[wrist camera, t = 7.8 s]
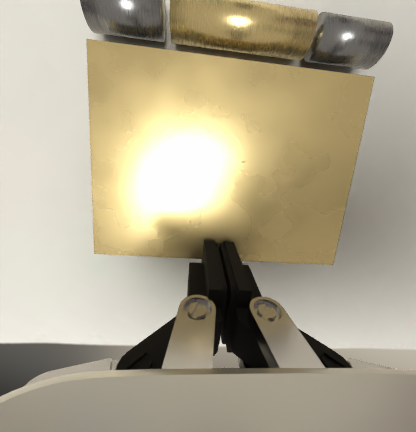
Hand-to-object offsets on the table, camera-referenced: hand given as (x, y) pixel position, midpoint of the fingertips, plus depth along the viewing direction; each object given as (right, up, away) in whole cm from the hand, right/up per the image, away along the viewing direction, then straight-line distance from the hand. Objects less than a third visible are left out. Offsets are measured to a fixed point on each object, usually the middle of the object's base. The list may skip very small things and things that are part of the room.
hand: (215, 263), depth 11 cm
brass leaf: (+1, +7, 0) cm, 7 cm away
